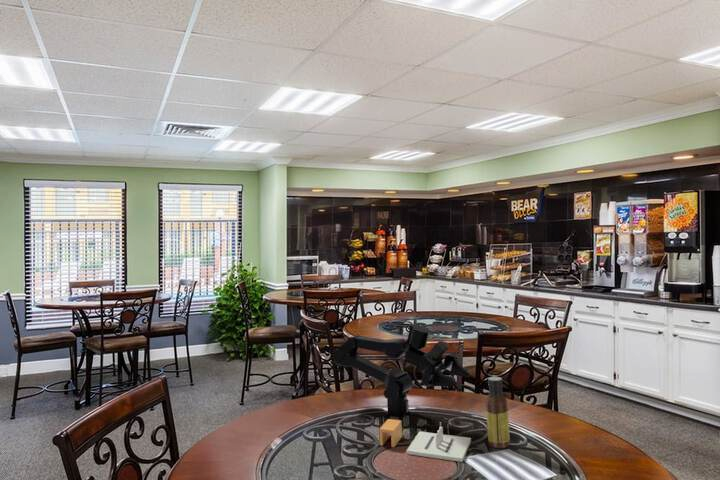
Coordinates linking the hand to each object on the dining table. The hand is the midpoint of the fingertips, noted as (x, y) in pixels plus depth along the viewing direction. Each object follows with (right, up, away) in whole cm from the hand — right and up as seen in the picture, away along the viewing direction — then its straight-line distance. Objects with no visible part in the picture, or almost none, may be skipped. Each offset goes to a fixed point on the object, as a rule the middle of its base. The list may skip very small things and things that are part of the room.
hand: (463, 380), depth 162 cm
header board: (-9, -16, -12) cm, 23 cm away
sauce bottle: (+8, -16, -12) cm, 21 cm away
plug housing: (-23, -17, -7) cm, 30 cm away
